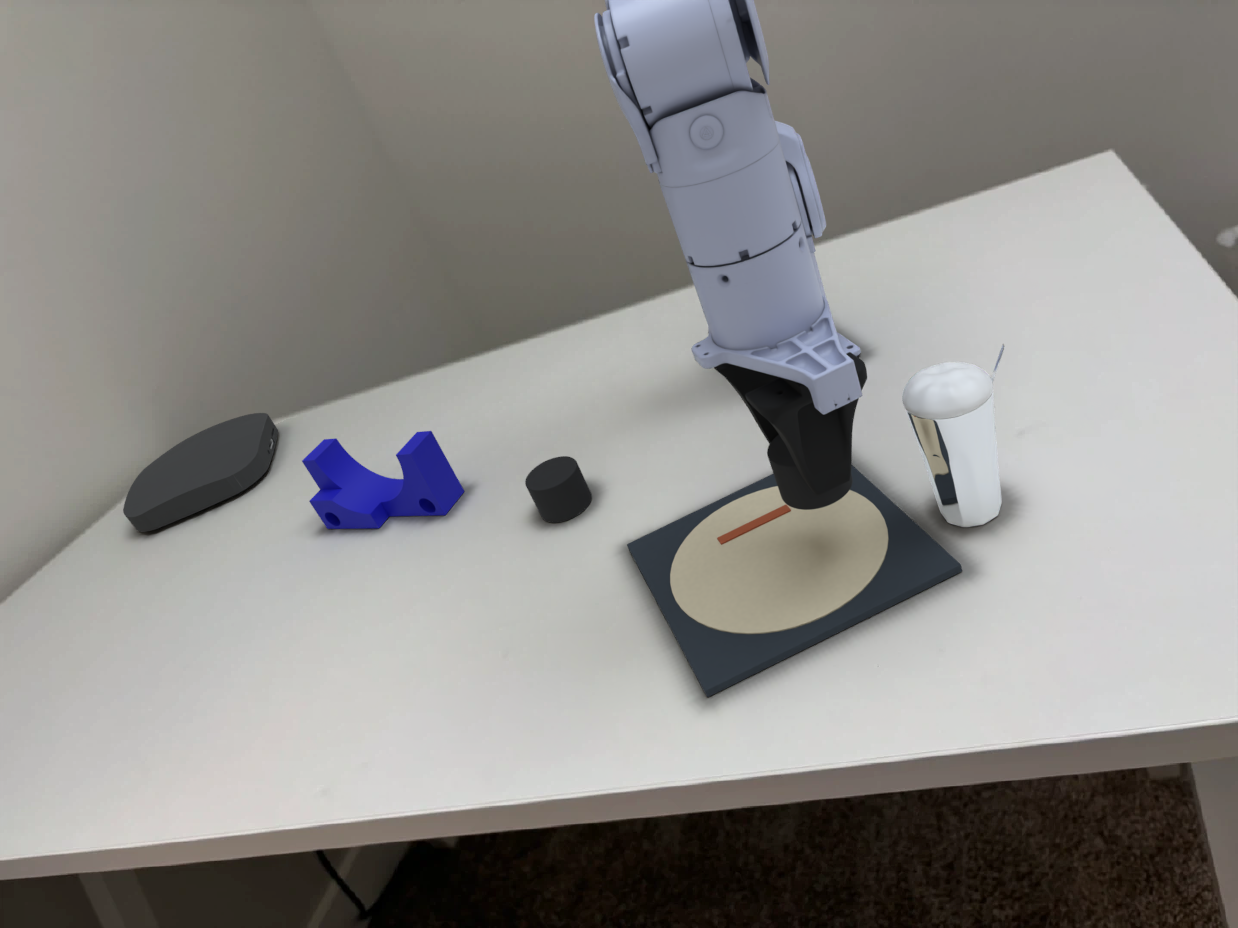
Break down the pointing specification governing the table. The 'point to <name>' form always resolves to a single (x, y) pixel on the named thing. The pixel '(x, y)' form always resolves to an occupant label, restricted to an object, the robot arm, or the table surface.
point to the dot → (798, 481)
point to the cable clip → (381, 485)
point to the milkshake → (957, 438)
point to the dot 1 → (558, 489)
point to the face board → (781, 574)
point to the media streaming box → (201, 471)
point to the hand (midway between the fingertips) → (812, 465)
